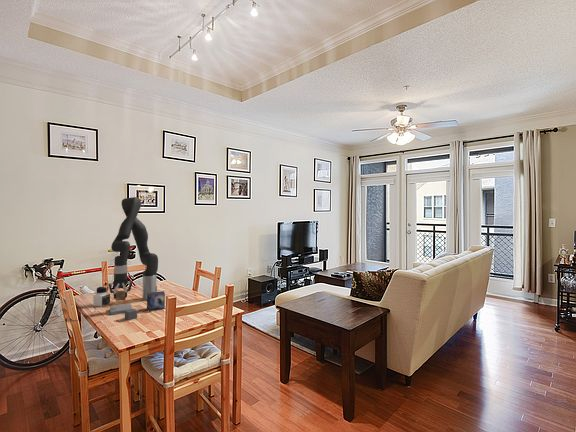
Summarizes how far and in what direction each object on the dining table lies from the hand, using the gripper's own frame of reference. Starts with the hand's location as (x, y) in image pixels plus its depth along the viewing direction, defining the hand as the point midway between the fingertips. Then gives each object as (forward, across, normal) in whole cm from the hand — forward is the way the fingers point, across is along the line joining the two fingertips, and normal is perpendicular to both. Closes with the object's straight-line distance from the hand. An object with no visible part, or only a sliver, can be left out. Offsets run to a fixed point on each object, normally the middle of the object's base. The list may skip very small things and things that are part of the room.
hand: (120, 298), depth 202 cm
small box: (+8, -20, +6) cm, 23 cm away
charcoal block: (+8, -5, +18) cm, 20 cm away
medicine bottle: (+8, +10, -20) cm, 24 cm away
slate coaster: (+8, 0, 0) cm, 8 cm away
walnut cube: (+1, 0, 0) cm, 1 cm away
